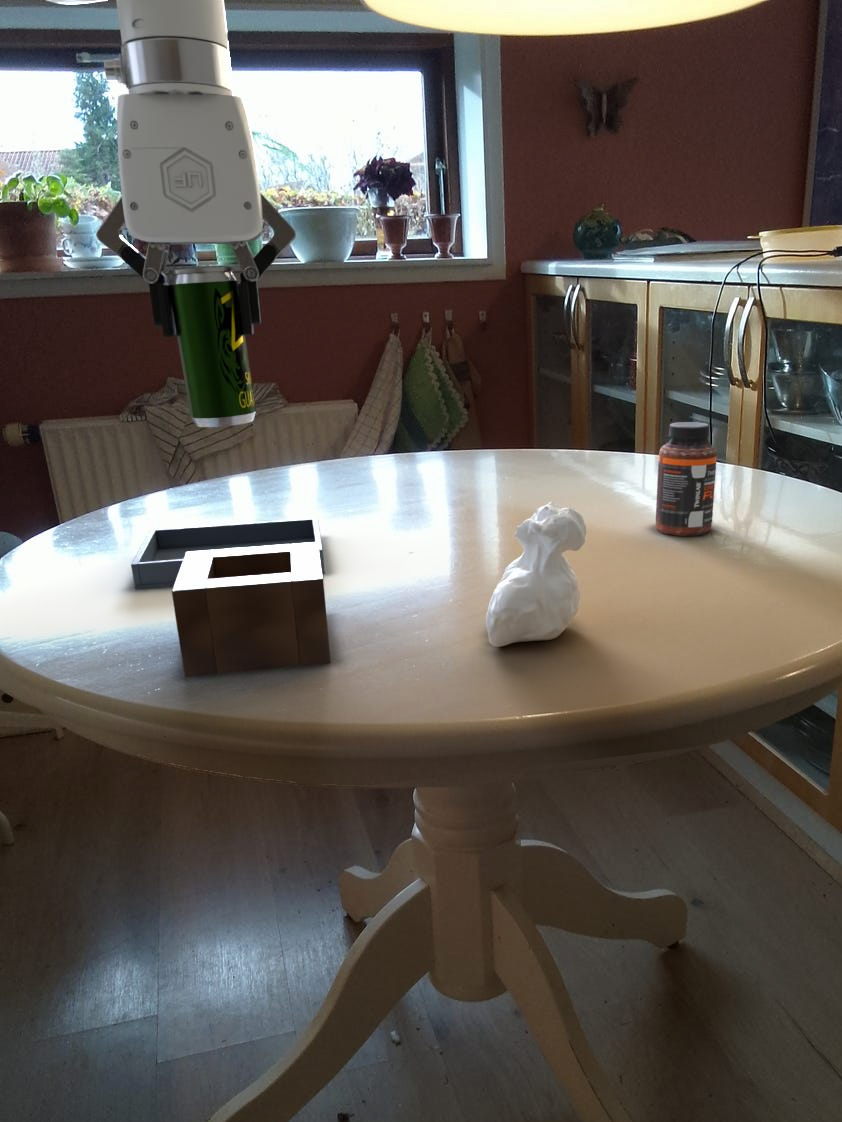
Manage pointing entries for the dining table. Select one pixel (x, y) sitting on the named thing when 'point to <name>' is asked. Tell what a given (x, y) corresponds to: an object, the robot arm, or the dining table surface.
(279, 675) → the dining table surface
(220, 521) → the dining table surface
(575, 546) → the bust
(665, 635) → the dining table surface
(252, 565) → the can holder
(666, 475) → the supplement bottle
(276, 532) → the tray
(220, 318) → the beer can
